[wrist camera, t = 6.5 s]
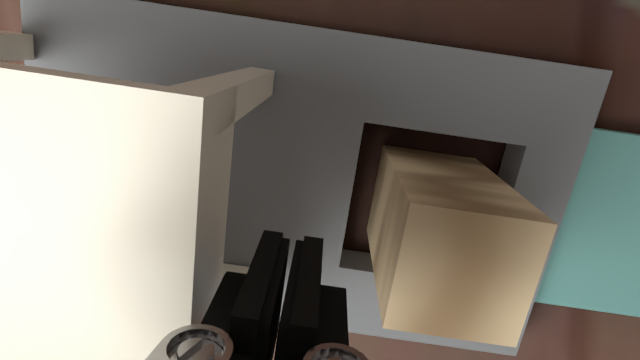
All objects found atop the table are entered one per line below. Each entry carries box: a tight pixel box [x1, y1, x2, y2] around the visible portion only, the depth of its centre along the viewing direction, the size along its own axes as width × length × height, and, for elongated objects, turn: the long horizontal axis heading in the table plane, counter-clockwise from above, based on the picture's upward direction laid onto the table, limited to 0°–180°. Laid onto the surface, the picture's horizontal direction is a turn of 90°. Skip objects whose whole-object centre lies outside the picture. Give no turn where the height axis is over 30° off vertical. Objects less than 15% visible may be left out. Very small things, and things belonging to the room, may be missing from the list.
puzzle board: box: [20, 0, 613, 356], centre depth 20 cm, size 24×14×2 cm, turn 82°
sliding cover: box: [0, 31, 275, 360], centre depth 14 cm, size 11×10×10 cm
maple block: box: [367, 145, 558, 348], centre depth 17 cm, size 4×4×8 cm
